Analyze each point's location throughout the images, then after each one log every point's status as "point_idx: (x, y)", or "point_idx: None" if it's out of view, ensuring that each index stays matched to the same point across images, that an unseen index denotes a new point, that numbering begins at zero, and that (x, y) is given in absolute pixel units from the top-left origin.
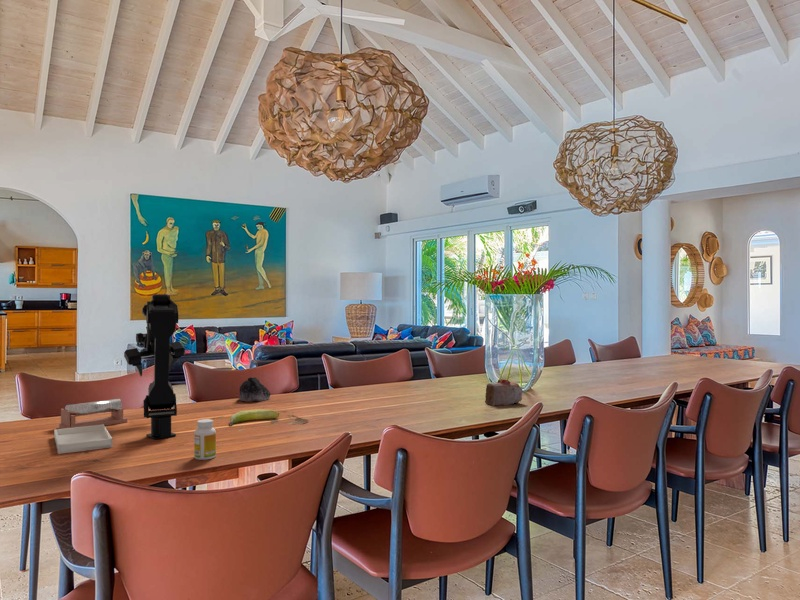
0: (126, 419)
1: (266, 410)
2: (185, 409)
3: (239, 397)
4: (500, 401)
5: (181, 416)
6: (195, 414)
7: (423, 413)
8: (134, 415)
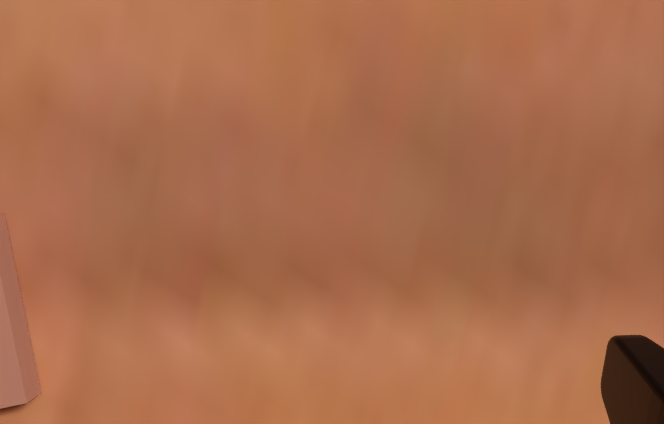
0: (23, 400)
1: None
2: (601, 114)
3: None
4: None
5: (485, 404)
6: None
7: None
8: (153, 132)
